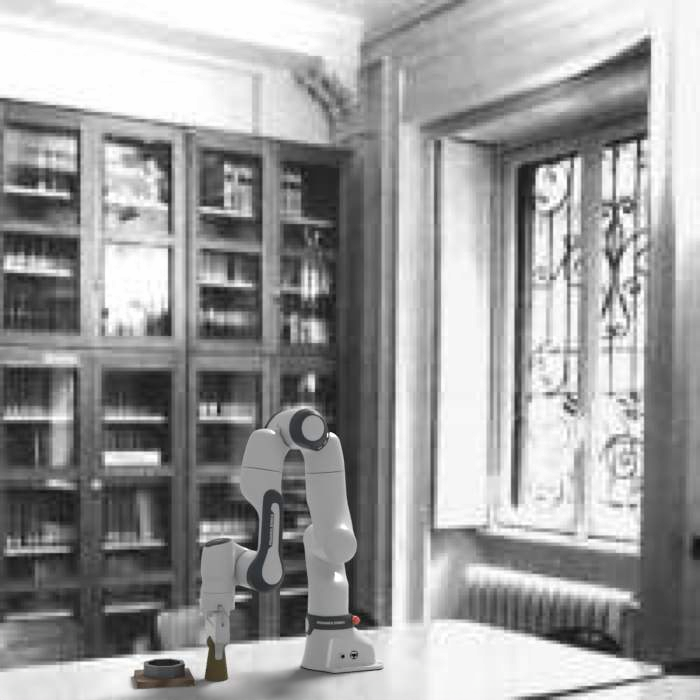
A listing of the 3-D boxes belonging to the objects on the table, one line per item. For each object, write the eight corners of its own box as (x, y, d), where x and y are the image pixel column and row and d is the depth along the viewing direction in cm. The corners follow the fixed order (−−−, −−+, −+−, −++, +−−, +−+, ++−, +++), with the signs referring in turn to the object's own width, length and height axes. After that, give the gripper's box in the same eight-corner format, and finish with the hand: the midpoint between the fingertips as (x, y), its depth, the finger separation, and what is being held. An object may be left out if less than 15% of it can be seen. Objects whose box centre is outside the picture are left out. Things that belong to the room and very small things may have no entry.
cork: (223, 681, 277) (224, 637, 278) (201, 680, 278) (201, 636, 279) (231, 676, 283) (231, 633, 284) (208, 674, 284) (209, 631, 285)
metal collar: (181, 669, 284) (182, 658, 284) (185, 678, 274) (186, 666, 274) (142, 671, 281) (142, 659, 281) (145, 679, 271) (145, 667, 272)
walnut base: (188, 673, 286) (188, 667, 286) (194, 685, 272) (194, 679, 272) (134, 675, 282) (134, 669, 283) (137, 688, 269) (137, 682, 269)
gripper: (235, 608, 273) (235, 664, 272) (224, 596, 293) (223, 648, 292) (210, 609, 271) (209, 665, 270) (200, 596, 291) (199, 649, 290)
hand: (216, 656), depth 281 cm, fingers closed on cork, 4 cm apart
